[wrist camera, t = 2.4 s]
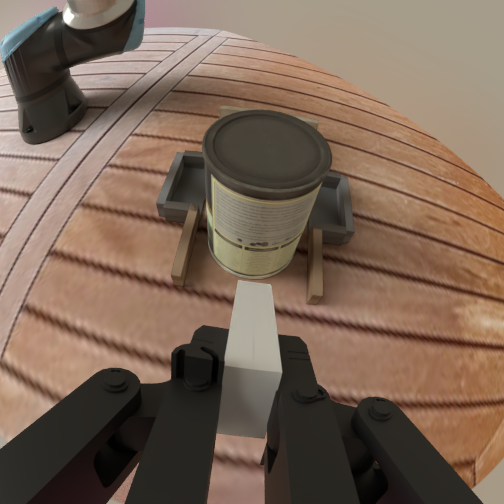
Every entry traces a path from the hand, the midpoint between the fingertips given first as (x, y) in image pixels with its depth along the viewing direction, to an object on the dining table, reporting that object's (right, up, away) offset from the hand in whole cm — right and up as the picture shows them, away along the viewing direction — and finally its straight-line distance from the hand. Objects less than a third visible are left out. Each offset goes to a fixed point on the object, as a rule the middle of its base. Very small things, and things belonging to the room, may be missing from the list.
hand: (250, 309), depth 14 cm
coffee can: (0, +4, +21) cm, 21 cm away
